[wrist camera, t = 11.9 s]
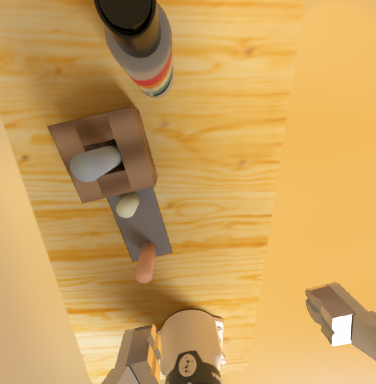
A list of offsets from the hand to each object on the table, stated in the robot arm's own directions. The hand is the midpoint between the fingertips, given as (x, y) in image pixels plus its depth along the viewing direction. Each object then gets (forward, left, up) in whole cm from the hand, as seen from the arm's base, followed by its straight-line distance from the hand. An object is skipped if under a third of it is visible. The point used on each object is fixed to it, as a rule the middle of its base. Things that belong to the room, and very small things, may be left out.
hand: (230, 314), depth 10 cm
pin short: (-1, +12, -27) cm, 30 cm away
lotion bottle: (+18, +2, -28) cm, 33 cm away
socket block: (+8, +12, -28) cm, 31 cm away
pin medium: (-13, +12, -27) cm, 33 cm away
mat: (-7, +12, -28) cm, 31 cm away
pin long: (+8, +11, -28) cm, 31 cm away
